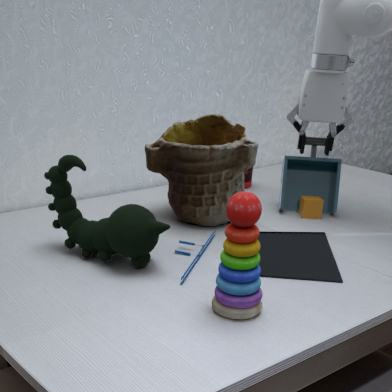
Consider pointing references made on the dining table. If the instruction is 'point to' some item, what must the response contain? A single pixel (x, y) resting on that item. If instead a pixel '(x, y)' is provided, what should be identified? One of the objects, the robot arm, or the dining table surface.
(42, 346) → the dining table surface
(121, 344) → the dining table surface
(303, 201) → the block
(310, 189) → the dish
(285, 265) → the mat
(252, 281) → the stacking toy
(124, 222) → the toy figurine
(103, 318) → the dining table surface
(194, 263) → the chopsticks
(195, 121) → the ceramic vessel
